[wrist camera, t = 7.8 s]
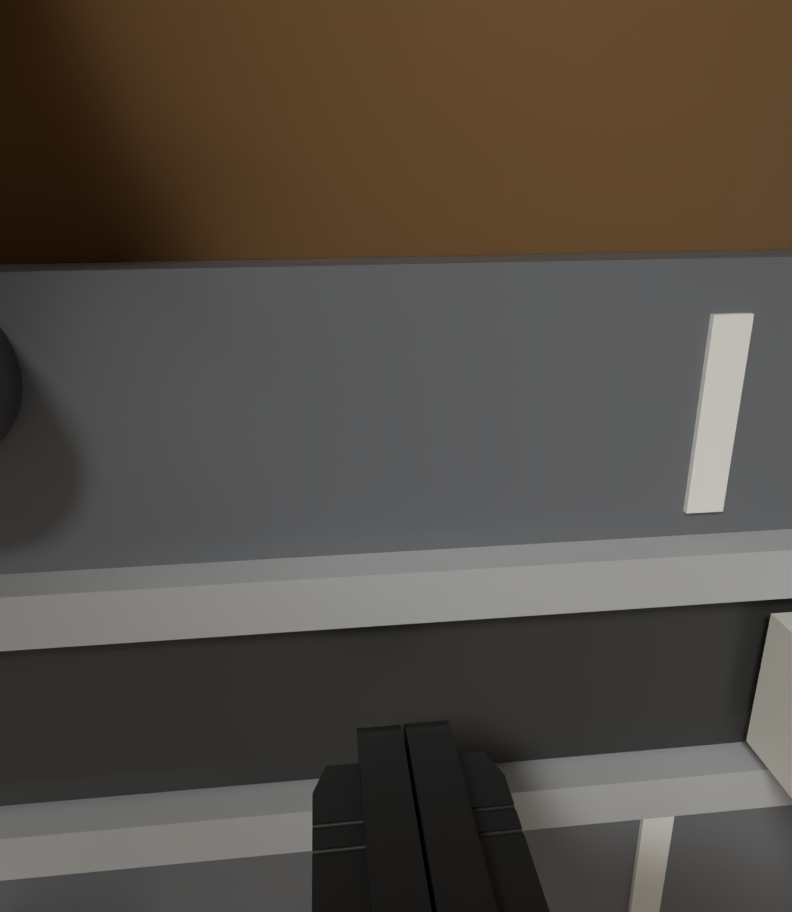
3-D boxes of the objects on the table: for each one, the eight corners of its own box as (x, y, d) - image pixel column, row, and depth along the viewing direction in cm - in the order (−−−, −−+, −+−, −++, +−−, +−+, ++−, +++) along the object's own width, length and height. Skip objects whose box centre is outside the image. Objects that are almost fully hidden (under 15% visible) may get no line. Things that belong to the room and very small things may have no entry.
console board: (-318, 270, 11) (-573, 299, 8) (1040, 245, 14) (1270, 258, 10) (-81, 965, 17) (-178, 1149, 14) (864, 865, 19) (977, 1003, 16)
